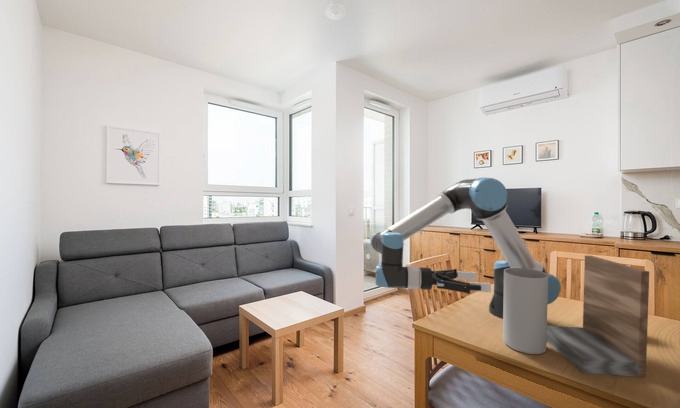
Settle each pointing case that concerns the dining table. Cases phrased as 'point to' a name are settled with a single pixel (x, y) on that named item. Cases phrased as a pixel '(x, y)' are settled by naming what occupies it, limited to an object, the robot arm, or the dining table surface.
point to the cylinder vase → (525, 310)
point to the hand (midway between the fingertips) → (482, 281)
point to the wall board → (608, 321)
